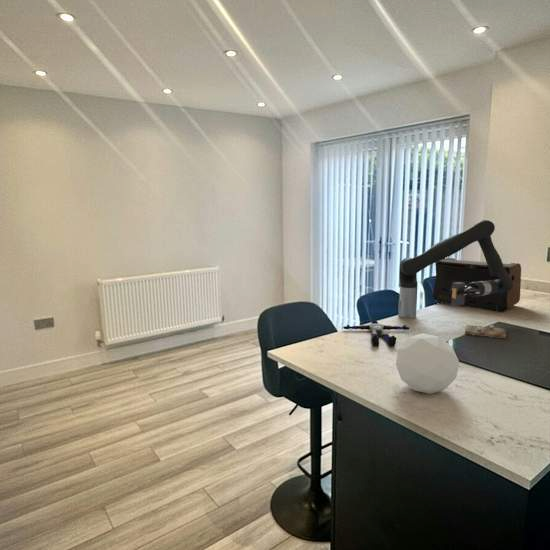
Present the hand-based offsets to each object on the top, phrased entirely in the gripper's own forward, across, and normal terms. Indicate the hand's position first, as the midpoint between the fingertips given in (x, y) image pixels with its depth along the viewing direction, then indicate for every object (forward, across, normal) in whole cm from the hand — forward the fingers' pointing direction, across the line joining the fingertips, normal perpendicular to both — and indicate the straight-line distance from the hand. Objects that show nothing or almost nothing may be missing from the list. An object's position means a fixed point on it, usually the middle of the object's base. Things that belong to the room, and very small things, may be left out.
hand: (454, 292), depth 197 cm
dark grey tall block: (-3, 0, +6) cm, 7 cm away
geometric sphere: (+61, +48, +18) cm, 80 cm away
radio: (-49, -32, +20) cm, 61 cm away
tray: (-8, +12, +19) cm, 24 cm away
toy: (+41, -6, +19) cm, 45 cm away
